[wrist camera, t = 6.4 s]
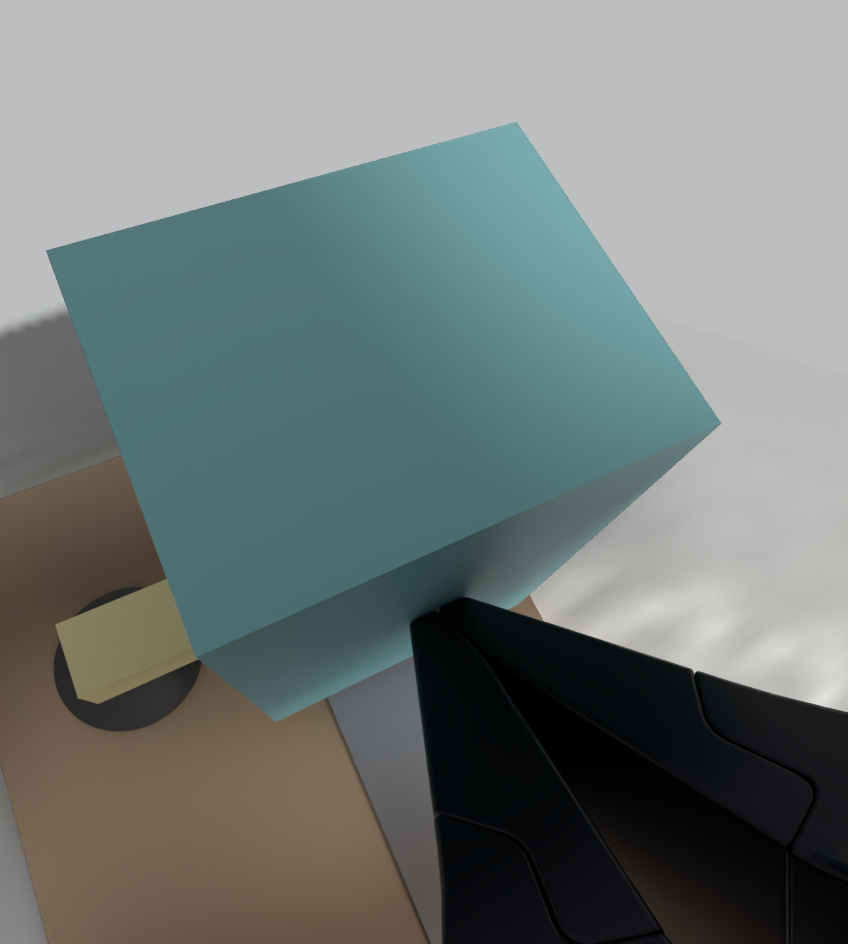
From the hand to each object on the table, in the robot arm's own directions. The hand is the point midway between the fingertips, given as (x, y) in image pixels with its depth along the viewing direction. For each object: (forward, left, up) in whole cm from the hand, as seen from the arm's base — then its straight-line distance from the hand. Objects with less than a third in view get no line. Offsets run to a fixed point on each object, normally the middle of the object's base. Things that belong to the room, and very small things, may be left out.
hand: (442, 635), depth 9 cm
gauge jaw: (+3, 0, -4) cm, 5 cm away
